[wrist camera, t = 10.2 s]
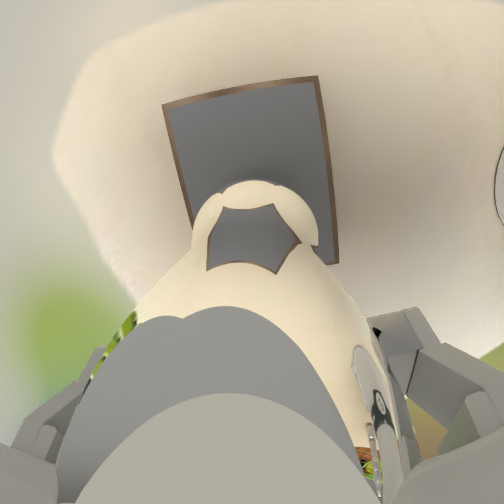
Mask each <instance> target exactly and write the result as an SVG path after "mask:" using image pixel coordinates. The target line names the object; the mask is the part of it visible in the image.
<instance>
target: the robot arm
mask: <svg viewBox="0 0 504 504" xmlns="http://www.w3.org/2000/svg"><path fill="white" fill-rule="evenodd" d="M495 199H496V206H497V211H498V214H499V217H500V219H501V221H502V223H503V224H504V150H503V152H502V155H501V158H500V161H499V165H498V169H497V174H496V183H495ZM367 322H368V324H369V325H370V327H371V329H372V330H373V332H374V334H375V335H376V337H377V338H378V340H379V342H380V343H381V345H382V347H383V349H384V351H385V353H386V355H387V357H388V359H389V362H390V364H391V366H392V369H393V371H394V373H395V376H396V378H397V380H398V383H399V385H400V388H401V390H402V393H403V395H406V396H407V397H408V398H409V399H411V400H412V401H413V402H414V403H416V404H417V405H418V406H419V407H420V408H422V409H423V410H424V411H425V412H427V413H428V414H429V415H430V416H431V417H433V418H434V419H435V420H436V421H438V422H439V423H440V424H441V425H442V426H444V427H445V428H446V429H447V430H448V431H447V433H446V434H445V436H444V437H443V439H442V441H441V443H440V444H439V446H438V447H437V450H438V453H439V456H436V457H433V458H430V459H427V460H425V461H422V462H421V464H420V474H421V484H422V496H423V504H504V373H503V372H502V371H500V370H498V369H496V368H494V367H492V366H490V365H488V364H486V363H484V362H482V361H480V360H479V359H477V358H475V357H473V356H471V355H469V354H467V353H465V352H463V351H461V350H459V349H457V348H455V347H453V346H451V345H449V344H447V343H443V344H441V343H440V341H439V339H438V338H437V336H436V334H435V333H434V331H433V330H432V328H431V326H430V325H429V323H428V322H427V320H426V319H425V317H424V315H423V314H422V312H421V311H420V309H419V308H417V307H413V308H409V309H405V310H401V311H398V312H393V313H389V314H384V315H379V316H375V317H370V318H367ZM106 348H107V346H98V347H96V348H95V350H94V351H93V353H92V355H91V357H90V359H89V361H88V362H87V364H86V366H85V368H84V370H83V372H82V374H81V376H80V378H79V379H78V381H77V382H75V381H74V382H72V383H71V384H70V385H68V386H67V387H66V388H64V389H63V390H62V391H60V392H59V393H58V394H56V395H55V396H54V397H52V398H51V399H50V400H48V401H47V402H46V403H45V404H43V405H42V406H40V407H39V408H38V409H36V410H35V411H34V412H33V413H31V414H30V415H28V416H27V417H26V418H25V419H24V421H23V423H22V425H21V427H20V429H19V431H18V433H17V435H16V437H15V439H14V441H13V443H12V445H11V447H9V446H6V445H4V444H2V443H0V504H44V503H45V499H46V494H47V490H48V486H49V483H50V479H51V476H52V472H53V469H54V465H55V462H56V459H57V456H58V452H59V449H60V446H61V443H62V440H63V437H64V434H65V432H66V429H67V427H68V425H69V422H70V420H71V417H72V415H73V413H74V410H75V408H76V406H77V403H78V401H79V399H80V396H81V394H82V392H83V390H84V387H85V385H86V383H87V381H88V379H89V378H90V376H91V374H92V372H93V370H94V369H95V367H96V365H97V363H98V362H99V360H100V358H101V356H102V355H103V353H104V351H105V350H106Z"/></svg>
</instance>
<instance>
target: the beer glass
mask: <svg viewBox="0 0 504 504" xmlns="http://www.w3.org/2000/svg"><path fill="white" fill-rule="evenodd" d="M318 253H319V232H318V227H317V223H316V220H315V217H314V215H313V212H312V211H311V209H310V207H309V206H308V204H307V203H306V202H305V201H304V199H303V198H302V197H301V196H300V195H298V194H297V193H296V192H295V191H293V190H292V189H290V188H288V187H286V186H284V185H282V184H280V183H277V182H274V181H270V180H265V179H244V180H239V181H236V182H233V183H230V184H228V185H226V186H224V187H222V188H220V189H219V190H217V191H216V192H214V193H213V194H212V195H211V196H210V197H209V198H208V199H207V200H206V201H205V203H204V204H203V205H202V207H201V208H200V210H199V212H198V214H197V217H196V219H195V222H194V226H193V232H192V243H191V248H190V249H189V250H188V252H187V253H186V254H185V255H184V256H183V257H182V258H181V259H180V260H179V261H178V262H177V263H176V264H175V265H174V266H173V267H172V268H171V269H170V270H169V271H168V272H167V273H166V274H165V275H164V276H163V277H162V278H161V279H160V280H159V281H158V282H157V283H156V284H155V285H154V286H153V287H152V289H151V290H150V291H149V292H148V293H147V294H146V295H145V296H144V297H143V299H142V300H141V301H140V302H139V304H138V305H137V306H136V307H135V309H134V310H133V311H132V312H131V314H130V315H129V316H128V318H127V319H126V320H125V321H124V323H123V324H122V325H121V326H120V328H119V329H118V330H117V332H116V333H115V334H114V336H113V338H112V340H111V341H110V343H109V344H108V346H107V348H106V350H105V351H104V353H103V355H102V356H101V358H100V360H99V362H98V363H97V365H96V367H95V369H94V370H93V372H92V374H91V376H90V378H89V379H88V381H87V383H86V385H85V387H84V390H83V392H82V394H81V396H80V399H79V401H78V403H77V406H76V408H75V410H74V413H73V415H72V417H71V420H70V422H69V425H68V427H67V429H66V432H65V434H64V437H63V440H62V443H61V446H60V449H59V452H58V456H57V459H56V462H55V465H54V469H53V472H52V476H51V479H50V483H49V486H48V490H47V494H46V499H45V503H44V504H423V496H422V484H421V474H420V464H421V462H422V461H423V460H422V456H421V452H420V448H419V444H418V440H417V437H416V433H415V430H414V426H413V423H412V419H411V416H410V412H409V409H408V406H407V403H406V400H405V397H404V395H403V393H402V390H401V388H400V385H399V383H398V380H397V378H396V376H395V373H394V371H393V369H392V366H391V364H390V362H389V359H388V357H387V355H386V353H385V351H384V349H383V347H382V345H381V343H380V342H379V340H378V338H377V337H376V335H375V334H374V332H373V330H372V329H371V327H370V325H369V324H368V322H367V320H366V319H365V317H364V316H363V314H362V312H361V311H360V309H359V308H358V306H357V305H356V304H355V302H354V301H353V299H352V298H351V297H350V295H349V294H348V293H347V291H346V290H345V289H344V287H343V286H342V285H341V283H340V282H339V281H338V280H337V278H336V277H335V276H334V274H333V273H332V272H331V271H330V269H329V268H328V267H327V266H326V264H325V263H324V262H323V260H322V259H321V258H320V256H319V254H318Z"/></svg>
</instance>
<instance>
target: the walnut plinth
mask: <svg viewBox="0 0 504 504" xmlns="http://www.w3.org/2000/svg"><path fill="white" fill-rule="evenodd" d="M162 109H163V114H164V118H165V122H166V127H167V131H168V136H169V140H170V144H171V148H172V152H173V157H174V161H175V165H176V169H177V173H178V177H179V181H180V185H181V189H182V193H183V196H184V200H185V204H186V208H187V212H188V215H189V219H190V223H191V226H192V230H193V226H194V222H195V219H196V217H197V214H198V212H199V210H200V208H201V207H202V205H203V204H204V203H205V201H206V200H207V199H208V198H209V197H210V196H211V195H212V194H213V193H214V192H216V191H217V190H219V189H220V188H222V187H224V186H226V185H228V184H230V183H233V182H236V181H239V180H244V179H265V180H270V181H274V182H277V183H280V184H282V185H284V186H286V187H288V188H290V189H292V190H293V191H295V192H296V193H297V194H298V195H300V196H301V197H302V198H303V199H304V201H305V202H306V203H307V204H308V206H309V207H310V209H311V211H312V212H313V215H314V217H315V220H316V223H317V227H318V232H319V253H318V254H319V256H320V258H321V259H322V260H323V262H324V263H325V264H326V265H331V264H338V263H339V248H338V233H337V219H336V208H335V197H334V186H333V177H332V168H331V159H330V151H329V144H328V136H327V129H326V122H325V115H324V109H323V103H322V97H321V91H320V85H319V79H318V76H307V77H298V78H289V79H282V80H274V81H268V82H261V83H255V84H249V85H244V86H238V87H233V88H228V89H223V90H218V91H214V92H209V93H205V94H201V95H197V96H192V97H188V98H185V99H181V100H177V101H173V102H170V103H166V104H163V105H162Z"/></svg>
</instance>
